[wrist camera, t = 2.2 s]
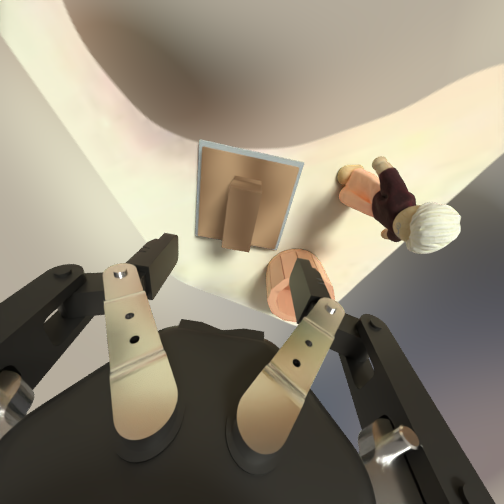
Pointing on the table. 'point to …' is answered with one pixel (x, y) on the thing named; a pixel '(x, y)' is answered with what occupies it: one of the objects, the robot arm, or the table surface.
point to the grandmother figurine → (398, 207)
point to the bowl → (279, 281)
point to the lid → (243, 199)
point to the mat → (251, 154)
